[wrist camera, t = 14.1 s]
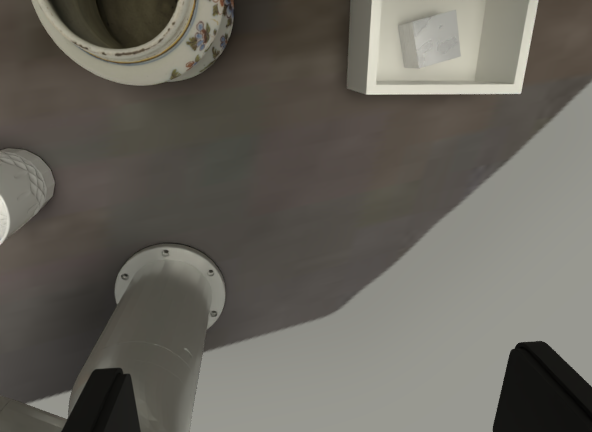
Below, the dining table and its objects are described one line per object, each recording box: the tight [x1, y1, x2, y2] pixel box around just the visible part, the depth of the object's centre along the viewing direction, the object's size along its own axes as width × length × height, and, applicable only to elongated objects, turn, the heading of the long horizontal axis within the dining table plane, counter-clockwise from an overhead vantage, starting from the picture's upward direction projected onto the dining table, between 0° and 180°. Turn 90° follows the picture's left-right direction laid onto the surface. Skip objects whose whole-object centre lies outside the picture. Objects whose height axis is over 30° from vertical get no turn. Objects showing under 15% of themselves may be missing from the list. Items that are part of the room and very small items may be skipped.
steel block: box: [398, 10, 461, 68], centre depth 39 cm, size 4×4×4 cm
